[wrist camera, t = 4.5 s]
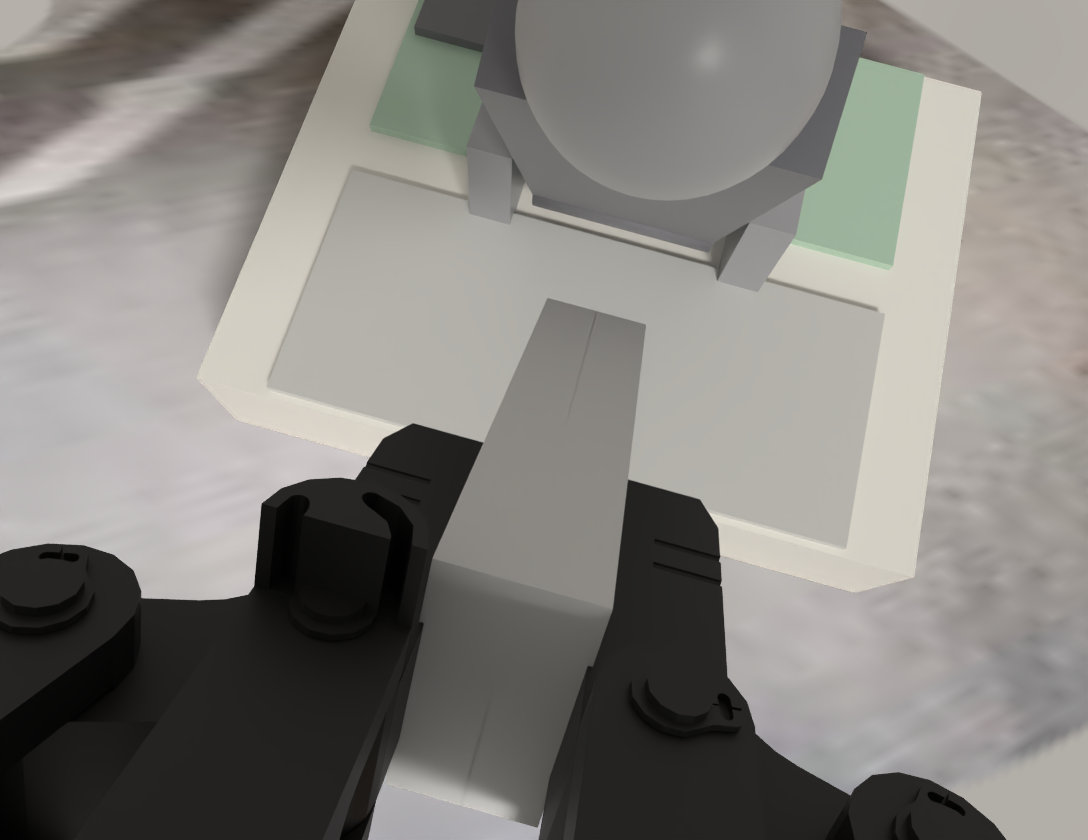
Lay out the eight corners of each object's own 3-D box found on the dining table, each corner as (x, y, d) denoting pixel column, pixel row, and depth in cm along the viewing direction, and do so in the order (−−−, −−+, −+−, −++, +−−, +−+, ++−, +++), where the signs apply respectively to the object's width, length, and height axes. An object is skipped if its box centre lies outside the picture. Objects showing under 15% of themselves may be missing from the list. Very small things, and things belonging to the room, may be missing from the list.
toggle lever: (694, 282, 25) (866, 230, 9) (528, 237, 25) (411, 108, 9) (734, 144, 25) (992, -167, 9) (564, 99, 25) (507, -292, 9)
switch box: (854, 593, 27) (987, 558, 20) (237, 420, 27) (145, 324, 20) (923, 163, 32) (1050, 7, 24) (396, 23, 32) (368, -170, 25)
